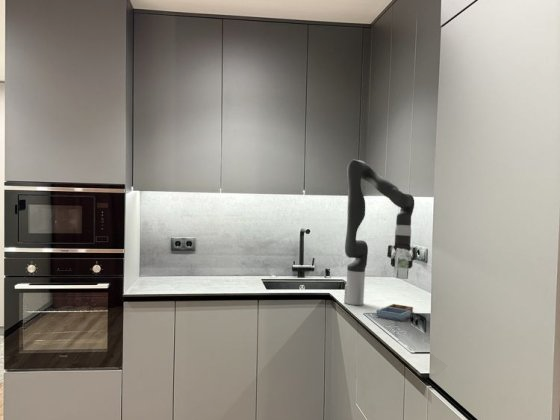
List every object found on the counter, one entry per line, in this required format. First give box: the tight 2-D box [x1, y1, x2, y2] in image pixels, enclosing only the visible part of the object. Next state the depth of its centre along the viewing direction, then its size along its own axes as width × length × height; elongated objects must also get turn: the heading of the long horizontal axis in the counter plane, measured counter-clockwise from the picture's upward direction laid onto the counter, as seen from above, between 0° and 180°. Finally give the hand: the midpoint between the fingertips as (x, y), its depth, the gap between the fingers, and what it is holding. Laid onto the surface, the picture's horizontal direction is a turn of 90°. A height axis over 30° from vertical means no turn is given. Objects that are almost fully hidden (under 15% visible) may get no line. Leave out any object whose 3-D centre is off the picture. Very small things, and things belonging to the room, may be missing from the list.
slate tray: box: [375, 306, 412, 322], centre depth 214 cm, size 12×12×3 cm
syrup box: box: [393, 248, 411, 280], centre depth 226 cm, size 6×6×14 cm
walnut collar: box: [386, 303, 414, 314], centre depth 226 cm, size 10×10×2 cm
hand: (401, 267), depth 226 cm, fingers closed on syrup box, 8 cm apart
